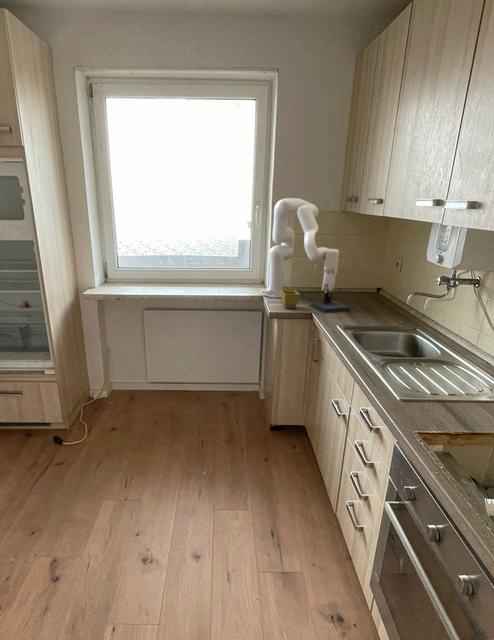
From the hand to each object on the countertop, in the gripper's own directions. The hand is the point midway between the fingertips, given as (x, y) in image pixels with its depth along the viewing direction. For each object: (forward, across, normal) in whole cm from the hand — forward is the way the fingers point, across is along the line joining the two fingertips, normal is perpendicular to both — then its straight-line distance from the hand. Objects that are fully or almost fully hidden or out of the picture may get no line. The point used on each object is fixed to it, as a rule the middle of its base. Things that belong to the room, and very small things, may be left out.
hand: (327, 302), depth 246 cm
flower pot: (+3, +14, -18) cm, 23 cm away
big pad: (+3, +3, +3) cm, 5 cm away
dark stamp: (+3, 0, 0) cm, 3 cm away
